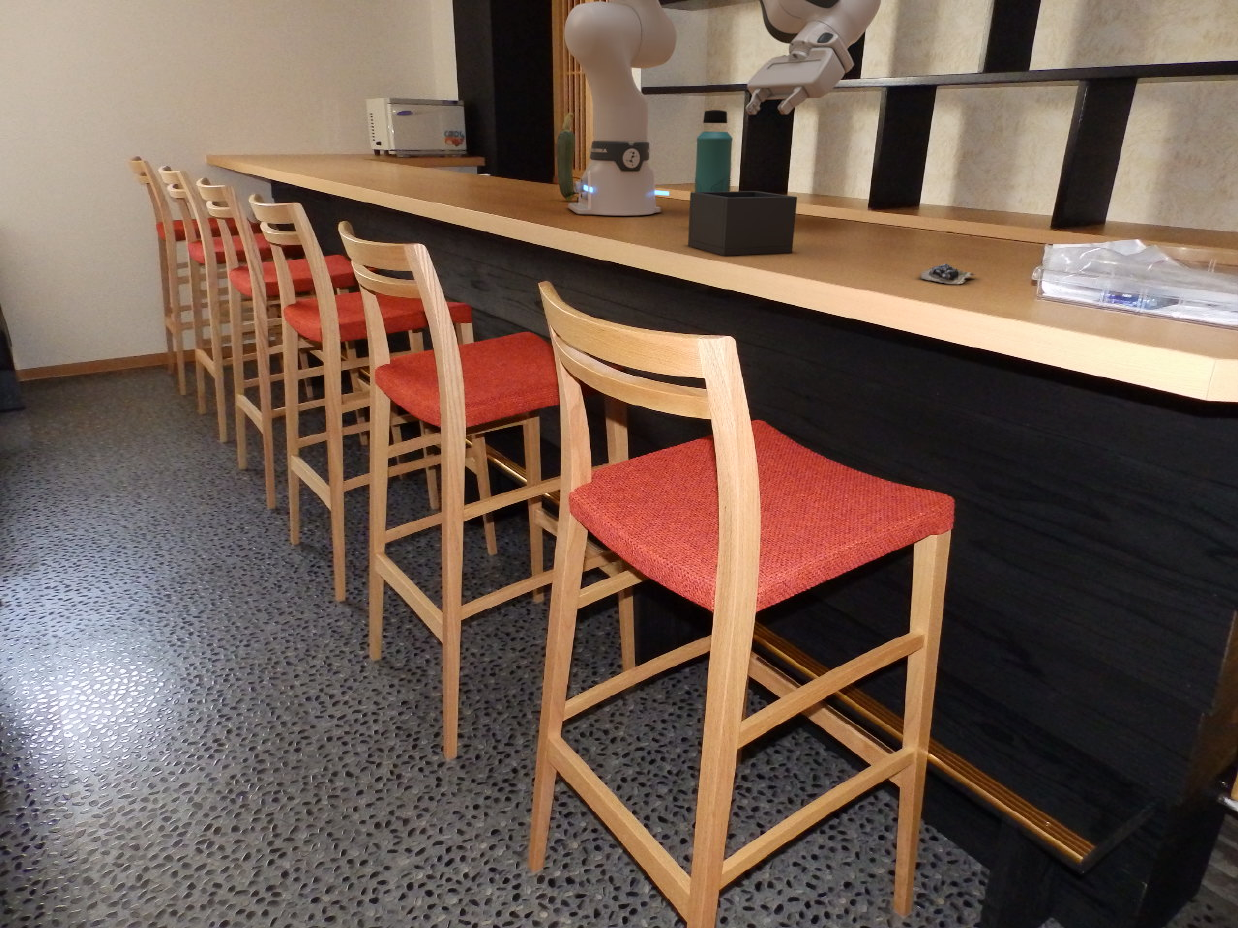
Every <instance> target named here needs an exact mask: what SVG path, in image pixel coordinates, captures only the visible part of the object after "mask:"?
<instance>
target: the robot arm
mask: <svg viewBox="0 0 1238 928" xmlns="http://www.w3.org/2000/svg"><path fill="white" fill-rule="evenodd" d="M758 1H759V4H760V6H761V7H760V8H761V12H762V20H763V24H764V26H765V29H766V31H767V32H768V34H769V35H770V36H771V37H772V38H773V39H775V40H776V41H777V42H780V43H783V44H789V45H788V55H784V54H783V55H780V56H774V57H772V58H770V59H769V60H767V61H766V62H765V63H764V64H763V65H762V66H761V67H760V68H759V69H758V70H757V71H756V72H755V73H754V75H752V76H751V78H750V79H749V80H748V82H747V86H746V88H747V90H748V91H749V93H750V94H751V98H750V102H749V103H747V105H746V106H745V110H746V112H747V113H748V115H749V116H751V115H757V114H758V112H759V111H761V109H762V108H761V107H760V106H761V103H764V102H765V101H766V100H767V101H768V100H781V102H780V104H778V106H777V110H778V111H779V114H781V115H789V114H790V113H791V112H792V110H793V109H794V108H796V107H797V106H799V105H801V104H802V103H803V102H805V101H806V99H821V98H823V97H825V96H826V95H828V94H829V93H831V92H832V91H833V89H834V88H835V87H836V86H837V85H838V84H839V82H840V81H842V79H843V77H844V76H845V74H847V73H849V72H850V71H851V70H852V69H853V67H854V66H855V63H854V60H853V58H852V56H851V54H850V52H849V51H848V49H849V48H850V46H852V45H853V44H855V43H856V42H857V41H858V40H859V39H860V38H861V37H862V35H863V34H864V33H865V31H867V29H868V28H869V27H870V25H871V23H872V22H873V21H874V19H875V17H876V16H877V14H878V11H879V10H880V7H881V4H882V0H758ZM563 32H564V41H565V45H566V48H567V50H568V52H569V53H570V55H571V56H572V57H573V58H574V59H575V60H576V61H577V63H578V64H579V66H580V68H581V69H582V71H583V73H584V75H585V78H586V81H587V83H588V86H589V90H590V94H591V99H592V100H591V101H592V117H593V119H592V120H593V121H592V122H593V140H592V141H591V144H590V145H591V146H590V148H589V149H590V150H589V159H590V161H589V163H588V165H587V167H586V169H585V170H584V172H583V174H582V176H581V178H580V179H579V180H576V181H574V182H573V188H574V193H573V196H575V195H578V196H577V197H576V200H577V201H578V202H571V203H570V202H569V203H568V204H567V205H568V206H567V208H568V209H569V210H570V211H572V212H574V213H575V214H577V215H596V216H597V215H598V216H646V215H652V214H656V213H661V212H662V211H661V207H660V206H656V196H670V191H669V190H668V191H667V190H658V189H657V190H656V184H655V183H656V182H655V181H656V180H655V172H654V170H653V169H652V168H651V167H650V165H649V162H648V161H649V160H650V153H651V149H650V143H649V141H648V133H649V131H648V128H649V101H648V99H647V97H646V95H645V94H644V93H643V92H642V91H640V90H639V88H638V87H637V85H636V82H635V80H634V76H633V73H632V69H642V70H645V69H651V68H654V67H658V66H662V65H665V64H666V63H667V62H668V61H670V59H671V58H672V56H673V55H674V52H675V51H676V50H675V49H676V46H677V30H676V26H675V23H674V22H673V20H672V19H671V17H670V16H668V14H667V13H666V12H665V10H664V8H663V7H662V5H661V3H660V1H659V0H608V1H601V0H597V1H589V2H583V3H579V4H577V5H575V6H574V7H573V8H572V9H571V10H570V12H569V13H568V15H567V17H566V20H565V24H564V31H563Z"/></svg>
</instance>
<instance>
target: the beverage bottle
mask: <svg viewBox="0 0 1238 928" xmlns="http://www.w3.org/2000/svg"><path fill="white" fill-rule="evenodd" d="M702 121H703V122H702V123H703V124H728V113H727V111H726V110H721V109H709V110H705V111H704V115H703V119H702ZM732 146H733V137H732V135H731V134H730V133H729V132H728V131H707V130H705V131H702V132H700V134H699V135H698V136H697V137H696V157H695V158H696V159H695V173H694V176H695V177H694V192H731V190H732V186H731V182H732V179H731V175H732V174H731V173H732V169H733V168H732V165H733V164H732V149H733V147H732Z"/></svg>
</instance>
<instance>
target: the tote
mask: <svg viewBox="0 0 1238 928" xmlns="http://www.w3.org/2000/svg"><path fill="white" fill-rule="evenodd" d="M797 202H798V197H797V196H794V195H786V194H779V193H772V192H764V191H759V190H742V191H741V190H739V191H736V190H735V191H730V192H695V191H690V193H689V214H688V236H687V237H688V238H687V239H688V240H687V246H688V247H691V248H694V249H698V250H702V251H706V252H709V253H712V254H716V255H720V256H722V257H732V256H733V257H734V256H753V255H775V254H777V255H778V254H792V253H793V250H794V249H793V248H794V247H793V246H794V237H795V226H796V214H797Z"/></svg>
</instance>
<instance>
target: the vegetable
mask: <svg viewBox="0 0 1238 928" xmlns="http://www.w3.org/2000/svg"><path fill="white" fill-rule="evenodd" d="M574 118H575V114H574V113H572V111H570V112H568V114H566V115H565V117H564V120H563V123H562V127H561V128H562V130H561V131H560V132H559V133H558V136H557V141H556V156H557V157H556V158H557V159H556V163H557V165H556V166H557V179H558V181H557V182H558V186H559V192H560V194H561V196H562V197H563V198H564V200H565V201H566V202H571V200H573V199H574V198H573V197H574V195H573V193H574V178H573V161H574V157H575V149H576V136H575V134H574V132H573V131H572V130H571V126H572V120H574Z"/></svg>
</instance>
